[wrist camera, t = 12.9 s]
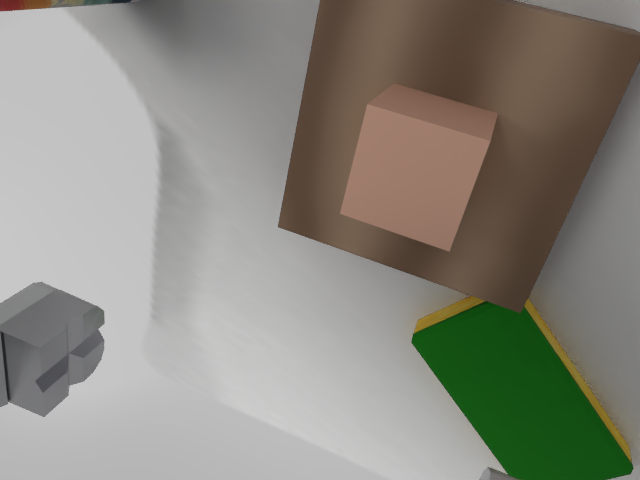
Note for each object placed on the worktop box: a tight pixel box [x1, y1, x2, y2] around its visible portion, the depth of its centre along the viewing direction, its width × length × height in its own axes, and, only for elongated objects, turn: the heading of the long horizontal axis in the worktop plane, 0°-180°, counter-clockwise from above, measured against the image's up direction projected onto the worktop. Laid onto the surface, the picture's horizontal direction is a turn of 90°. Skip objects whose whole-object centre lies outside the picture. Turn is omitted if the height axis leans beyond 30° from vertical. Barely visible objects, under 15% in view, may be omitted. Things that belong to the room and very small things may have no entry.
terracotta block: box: [340, 83, 498, 251], centre depth 25 cm, size 5×5×5 cm
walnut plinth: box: [278, 0, 640, 313], centre depth 29 cm, size 14×14×4 cm
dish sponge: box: [412, 296, 633, 480], centre depth 35 cm, size 7×14×2 cm, turn 38°
